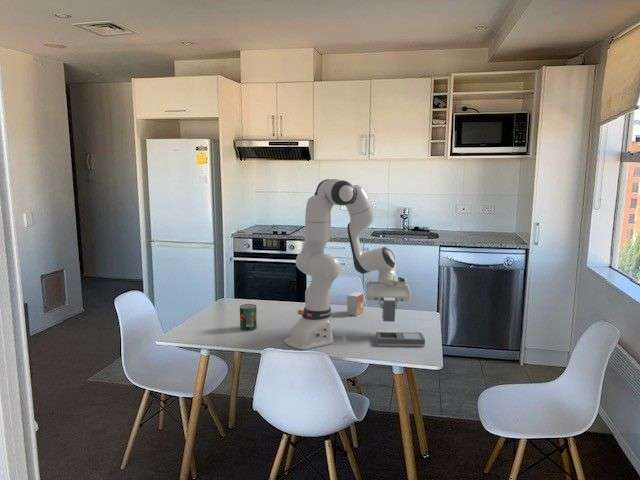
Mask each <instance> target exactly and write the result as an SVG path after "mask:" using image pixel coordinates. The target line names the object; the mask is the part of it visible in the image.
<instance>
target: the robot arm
mask: <svg viewBox="0 0 640 480" xmlns="http://www.w3.org/2000/svg"><path fill="white" fill-rule="evenodd" d="M334 206H343V207H344V206H345V207H346V209H347V212H348V215H349V223H348V224H347V228H346V229H347V235H348V240H349V245H350V250H351V255H352V260H353V266H354V269H355V270H356V272H358V273H360V274H362V275H364V274H369V273H371V272H373V271H378V276H377V279H378V280H377V281H371V280H370V281H368V282H366V284H365V289H366V297H365V298H366V300H368V301H377V304H378V305H379V308H380V309H382V310H383V308H384V304H383V297H389V298H395V300H396V302H395V310H398V309H399V304H400V303H401V302H409V301H411V298H412V293H411V289H410V286H409V284H408V279H407V278H405V277H402V276H398V275H397V261H396V257H395V254H394V252H393V251H392V250H391V249H389V248H388V247H385V246H381V247H377V248H374V249H371V250H370V249H369V250H367V251H363V250H362V247H361V242H360V238H359V235H360V234H361V233H362V232H364V230H366V229H367V228H369V227H370V226H371V224H372V223H373V222H374V219H375V215H376V213H375V210H374V206H373V204H372V201H371V200H370V197H369V196H368V194H367V191H365V188H364V187H363V186H362V185H358V184H354V185H353V184H352V183H350V182H349V181H347V180H342V179H337V178H330V179H329V178H326V179H324V180H322V181H320V182H319V183H318V184H317V187H316V190H315V192H314V195H313V196H310V197H309V198H308V199H307V202H306V207H305V215H304V217H305V218H304V228H305V229H304V241H303V245H302V247H301V251H300V252H299V253H298V254H297V256H296V259H295V266H296V267H297V269H298V270H299V271H300V272H301V273H303V274H305V275H308V276H310V277H311V281H310V284H309V286H308V287H306V289H305V292H304V295H305V297H304V308H303V310H302V309H298V310H297V314H298V315H301V317H300V318H299V320H298V321H296V323H295V324H294V325H292V327H291V328H290V332H289V337H287V338H285V339H284V344H286V345H288V346H289V347H291V348H294V349H298V350H303V351H304V350H310V349H315V348H318V347H322V346H323V347H324V346H327V345H331V344H334V335H333V331H332V330H333V329H332V324H331V316H332V308H331V290H332V287H333V285H334V284H333V283H334V281H335V280H336V279H337V278H338V277H339V276H340V273H341V271H342V265H341V262H340V261H339V260H338V259H337V258H336V257H334V256H333V255H330V254H328V253H325V248H326V244H327V243H329V242H330V240H331V234H332V232H331V228H332V227H331V223H332V219H331V213H332V212H331V211H332V209H333V207H334Z"/></svg>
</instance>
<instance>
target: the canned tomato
mask: <svg viewBox="0 0 640 480" xmlns="http://www.w3.org/2000/svg"><path fill="white" fill-rule="evenodd" d="M239 326H240V327H239V330H240V331H242V332H252V331H253V332H254V331H255V330H257V328H258V325H257V305H256V304H254V303H245V304H243V303H242V304H241V305H240V306H239Z"/></svg>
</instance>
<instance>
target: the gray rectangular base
mask: <svg viewBox="0 0 640 480" xmlns="http://www.w3.org/2000/svg"><path fill="white" fill-rule="evenodd" d="M375 340H376V345H377V346H378V347H379V346H380V347H426V346H425V344H426V339H425V337H424V335H423V333H422V332H404V331H402V332H400V331H399V332H377V331H376V333H375Z"/></svg>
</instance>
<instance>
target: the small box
mask: <svg viewBox="0 0 640 480" xmlns="http://www.w3.org/2000/svg"><path fill="white" fill-rule="evenodd" d="M346 298H347V305H346V307H347V309H346V311H347V313H346V314H347V315H348V316H355V317H358V316H359V315H361V314H363V313H364V293H362V292H356V291H354V292H352V293H350V294H348V295H347V297H346Z"/></svg>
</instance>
